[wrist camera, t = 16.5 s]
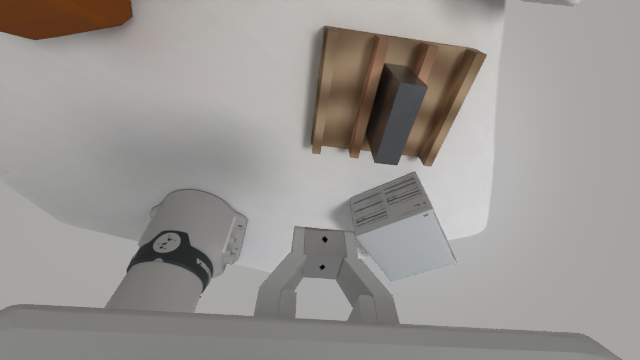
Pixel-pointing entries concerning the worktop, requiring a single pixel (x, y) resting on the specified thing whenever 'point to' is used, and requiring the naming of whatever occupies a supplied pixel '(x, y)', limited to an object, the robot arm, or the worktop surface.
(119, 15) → the orange rounded block
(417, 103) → the block
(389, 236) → the supplement box
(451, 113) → the rack
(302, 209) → the worktop surface
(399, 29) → the worktop surface
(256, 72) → the worktop surface
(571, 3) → the container
